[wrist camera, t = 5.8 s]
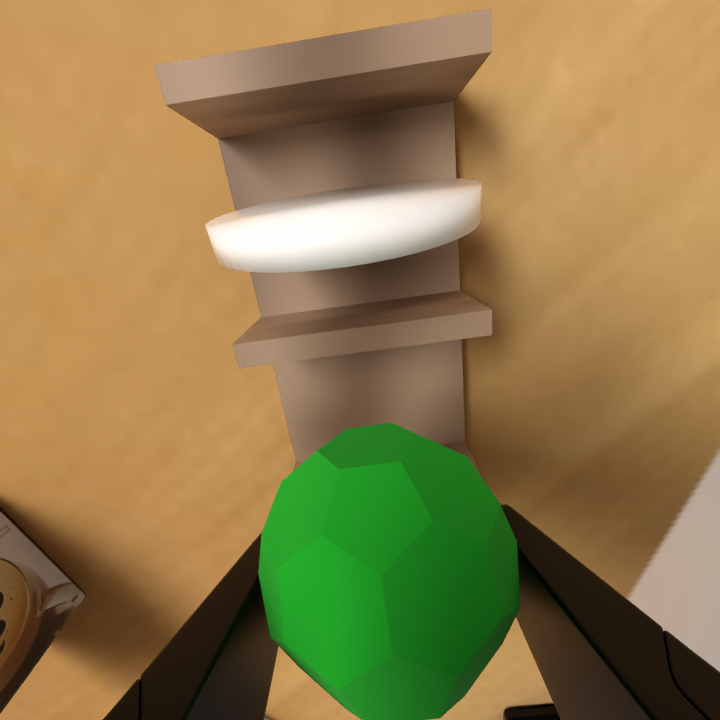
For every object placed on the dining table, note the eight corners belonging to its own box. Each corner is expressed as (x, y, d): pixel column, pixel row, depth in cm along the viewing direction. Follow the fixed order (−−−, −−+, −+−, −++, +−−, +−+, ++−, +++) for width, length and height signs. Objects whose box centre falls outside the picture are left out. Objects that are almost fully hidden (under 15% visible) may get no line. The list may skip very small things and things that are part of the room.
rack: (446, 81, 12) (491, 8, 8) (465, 550, 20) (492, 632, 16) (220, 117, 12) (154, 65, 8) (325, 565, 20) (317, 649, 16)
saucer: (442, 173, 12) (541, 112, 6) (445, 234, 13) (535, 241, 6) (247, 203, 13) (125, 176, 6) (260, 260, 13) (164, 293, 7)
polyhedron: (494, 502, 10) (609, 731, 5) (340, 560, 11) (331, 803, 6) (427, 354, 8) (512, 514, 4) (249, 436, 9) (146, 648, 5)
